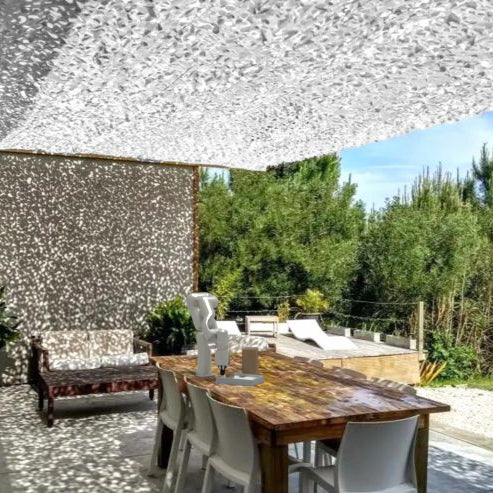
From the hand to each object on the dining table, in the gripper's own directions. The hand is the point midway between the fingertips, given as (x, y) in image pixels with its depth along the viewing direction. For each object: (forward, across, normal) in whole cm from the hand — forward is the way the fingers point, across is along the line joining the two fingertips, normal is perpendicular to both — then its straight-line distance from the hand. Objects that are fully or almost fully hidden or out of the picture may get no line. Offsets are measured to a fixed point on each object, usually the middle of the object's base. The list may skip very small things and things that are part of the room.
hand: (222, 375), depth 427 cm
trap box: (+4, +13, 0) cm, 14 cm away
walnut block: (+1, +6, 0) cm, 6 cm away
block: (+4, +9, +23) cm, 25 cm away
